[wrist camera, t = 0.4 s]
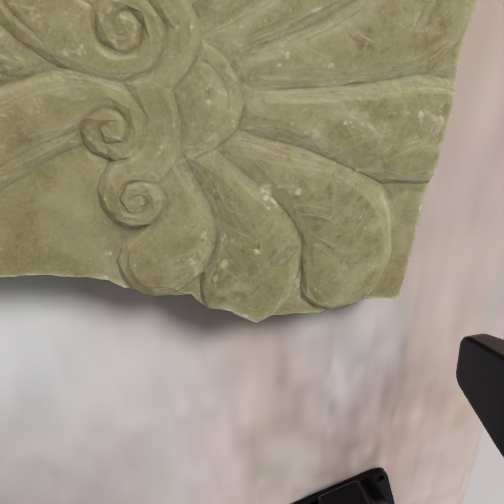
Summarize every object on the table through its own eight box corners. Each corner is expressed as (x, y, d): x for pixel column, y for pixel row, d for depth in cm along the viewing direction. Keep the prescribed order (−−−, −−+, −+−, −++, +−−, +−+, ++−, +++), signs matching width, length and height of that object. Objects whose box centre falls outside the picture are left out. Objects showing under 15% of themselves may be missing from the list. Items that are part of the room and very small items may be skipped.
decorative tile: (-118, -274, 14) (-192, -369, 11) (469, -134, 19) (537, -171, 16) (-40, 293, 21) (-72, 337, 18) (376, 289, 26) (410, 323, 23)
